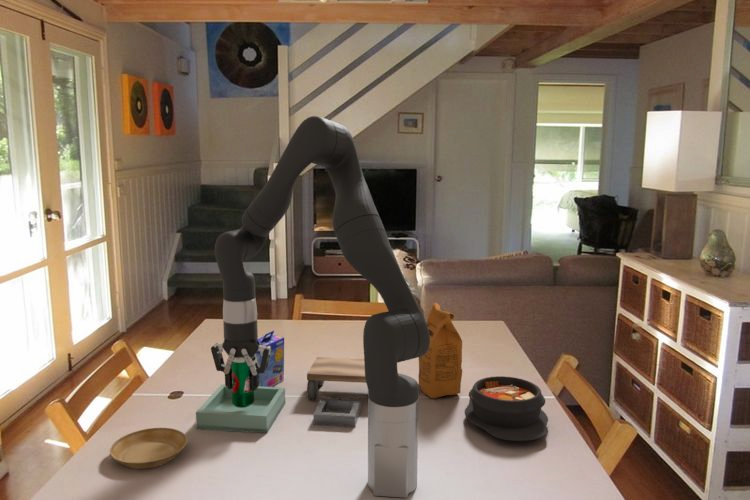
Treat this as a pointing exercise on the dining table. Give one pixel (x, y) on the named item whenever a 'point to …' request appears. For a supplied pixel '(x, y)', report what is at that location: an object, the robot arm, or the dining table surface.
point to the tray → (241, 411)
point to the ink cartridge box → (272, 360)
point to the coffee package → (441, 356)
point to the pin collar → (337, 418)
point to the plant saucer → (148, 447)
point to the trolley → (334, 372)
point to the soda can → (241, 383)
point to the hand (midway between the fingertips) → (242, 388)
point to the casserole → (508, 408)
